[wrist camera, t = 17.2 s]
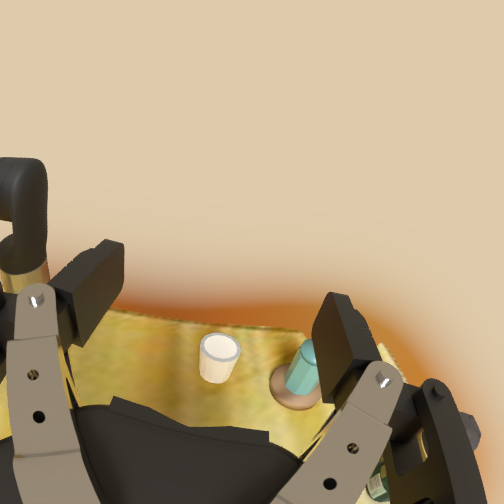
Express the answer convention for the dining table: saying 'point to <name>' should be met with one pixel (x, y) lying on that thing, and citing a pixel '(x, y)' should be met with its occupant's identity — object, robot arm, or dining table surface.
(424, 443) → the coffee jar
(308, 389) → the teal lidded canister
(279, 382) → the post
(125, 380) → the dining table surface
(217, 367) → the white cup
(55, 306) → the robot arm
